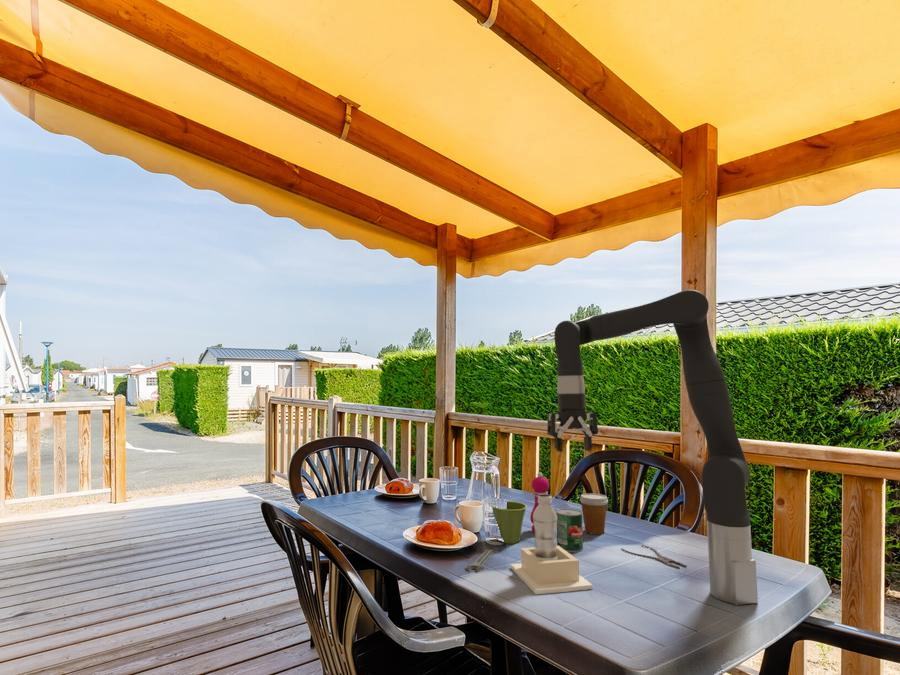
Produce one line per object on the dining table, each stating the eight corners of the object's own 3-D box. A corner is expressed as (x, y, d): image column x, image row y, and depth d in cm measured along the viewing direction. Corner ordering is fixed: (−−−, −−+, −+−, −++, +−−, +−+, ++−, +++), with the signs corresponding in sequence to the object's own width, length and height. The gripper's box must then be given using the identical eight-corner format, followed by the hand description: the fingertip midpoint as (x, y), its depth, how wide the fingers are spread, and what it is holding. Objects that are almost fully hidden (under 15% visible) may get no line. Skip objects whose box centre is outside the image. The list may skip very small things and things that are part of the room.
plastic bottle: (563, 573, 131) (562, 495, 132) (550, 580, 126) (548, 499, 127) (542, 567, 135) (541, 491, 137) (528, 574, 130) (527, 495, 132)
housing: (592, 589, 123) (591, 563, 124) (535, 594, 120) (535, 568, 120) (561, 563, 140) (560, 541, 141) (510, 567, 137) (510, 545, 138)
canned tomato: (560, 542, 159) (559, 507, 160) (585, 546, 156) (584, 510, 157) (554, 550, 152) (553, 513, 153) (580, 554, 149) (579, 516, 150)
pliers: (637, 542, 158) (699, 560, 142) (637, 545, 158) (699, 563, 142) (618, 548, 152) (680, 567, 136) (618, 551, 152) (680, 571, 136)
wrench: (464, 571, 135) (464, 567, 135) (485, 549, 154) (485, 545, 154) (481, 574, 134) (481, 569, 134) (500, 550, 152) (500, 547, 152)
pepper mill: (553, 535, 167) (552, 474, 169) (532, 534, 167) (531, 474, 169) (549, 528, 175) (548, 470, 176) (529, 528, 175) (528, 470, 177)
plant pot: (502, 548, 153) (501, 511, 155) (484, 537, 164) (484, 502, 165) (534, 543, 158) (534, 507, 159) (515, 533, 169) (514, 499, 170)
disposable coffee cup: (578, 527, 176) (578, 492, 177) (606, 528, 175) (605, 493, 176) (582, 535, 167) (581, 498, 168) (611, 536, 166) (610, 499, 167)
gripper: (553, 392, 134) (556, 453, 132) (601, 391, 138) (603, 451, 136) (542, 392, 141) (544, 450, 140) (587, 391, 145) (589, 448, 143)
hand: (573, 450), depth 138 cm, fingers open, 8 cm apart
